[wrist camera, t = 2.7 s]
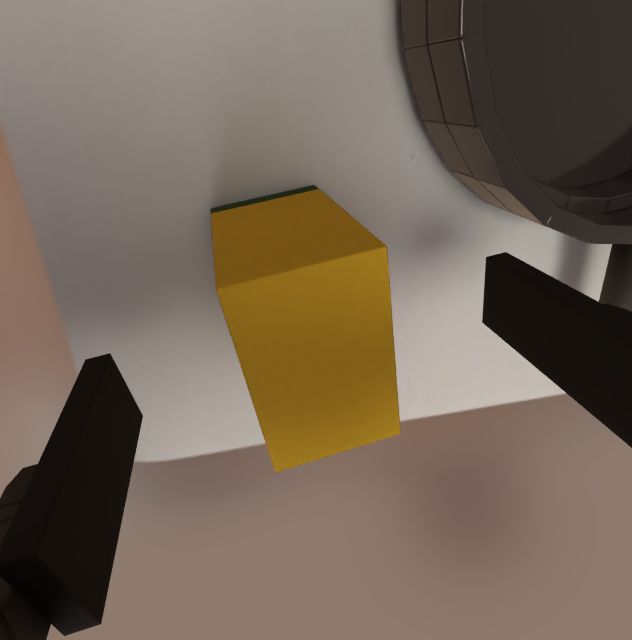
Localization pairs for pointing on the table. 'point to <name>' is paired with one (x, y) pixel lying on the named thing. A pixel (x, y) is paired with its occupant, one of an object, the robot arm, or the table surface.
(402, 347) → the table surface
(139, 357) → the table surface
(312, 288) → the sponge
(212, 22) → the table surface
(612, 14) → the pan
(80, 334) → the table surface
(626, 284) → the pan handle
